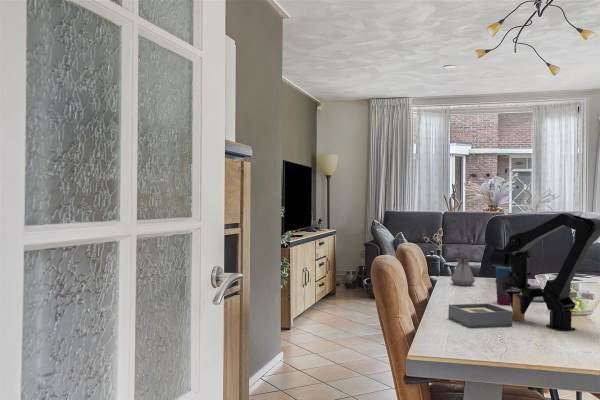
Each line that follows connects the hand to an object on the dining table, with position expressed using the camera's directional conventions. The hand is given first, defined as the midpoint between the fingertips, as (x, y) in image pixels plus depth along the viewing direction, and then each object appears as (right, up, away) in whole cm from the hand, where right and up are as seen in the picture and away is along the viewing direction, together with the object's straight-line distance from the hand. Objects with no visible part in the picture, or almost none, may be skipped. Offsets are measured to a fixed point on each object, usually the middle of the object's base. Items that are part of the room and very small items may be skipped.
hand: (518, 312), depth 190 cm
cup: (+5, -3, +28) cm, 29 cm away
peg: (0, -3, 0) cm, 2 cm away
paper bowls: (+23, -3, +41) cm, 47 cm away
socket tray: (-16, -2, -6) cm, 17 cm away
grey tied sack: (+2, -3, +72) cm, 72 cm away
